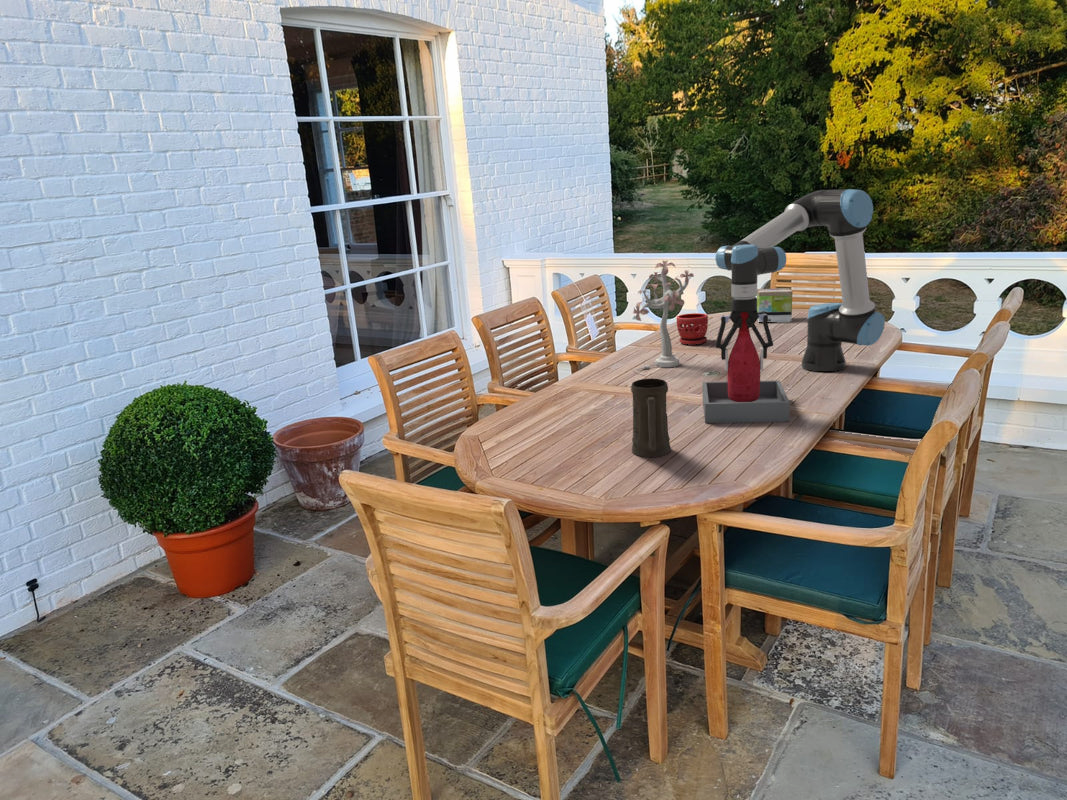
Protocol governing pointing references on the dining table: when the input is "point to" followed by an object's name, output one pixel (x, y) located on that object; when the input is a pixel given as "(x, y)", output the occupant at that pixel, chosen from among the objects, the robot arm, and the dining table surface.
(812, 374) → the dining table surface
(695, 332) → the plant pot
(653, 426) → the beer stein
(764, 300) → the tea box
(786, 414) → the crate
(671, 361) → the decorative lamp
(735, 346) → the wine bottle
